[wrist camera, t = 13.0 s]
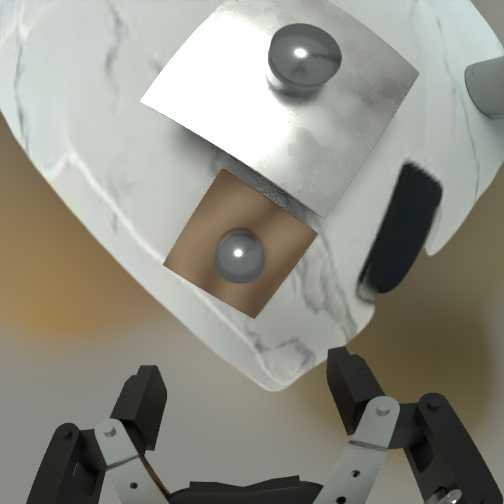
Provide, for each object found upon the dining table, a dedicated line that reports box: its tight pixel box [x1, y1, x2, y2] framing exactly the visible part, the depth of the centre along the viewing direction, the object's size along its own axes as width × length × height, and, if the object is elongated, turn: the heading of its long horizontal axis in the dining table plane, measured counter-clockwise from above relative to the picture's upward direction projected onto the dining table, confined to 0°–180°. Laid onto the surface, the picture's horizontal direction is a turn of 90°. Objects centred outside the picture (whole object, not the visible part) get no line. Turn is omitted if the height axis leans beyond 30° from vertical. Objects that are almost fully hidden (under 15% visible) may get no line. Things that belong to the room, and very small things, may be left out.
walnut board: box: [163, 169, 318, 319], centre depth 32 cm, size 13×13×2 cm
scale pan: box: [141, 0, 419, 219], centre depth 20 cm, size 18×18×3 cm
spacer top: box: [215, 228, 265, 284], centre depth 29 cm, size 5×5×4 cm
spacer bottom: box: [265, 23, 342, 97], centre depth 16 cm, size 5×5×4 cm
